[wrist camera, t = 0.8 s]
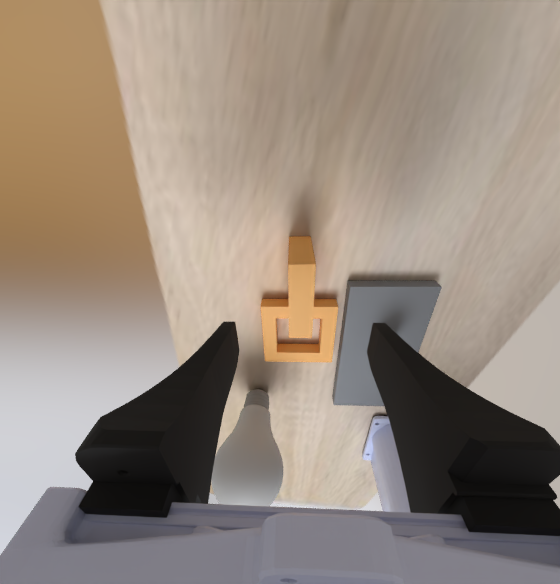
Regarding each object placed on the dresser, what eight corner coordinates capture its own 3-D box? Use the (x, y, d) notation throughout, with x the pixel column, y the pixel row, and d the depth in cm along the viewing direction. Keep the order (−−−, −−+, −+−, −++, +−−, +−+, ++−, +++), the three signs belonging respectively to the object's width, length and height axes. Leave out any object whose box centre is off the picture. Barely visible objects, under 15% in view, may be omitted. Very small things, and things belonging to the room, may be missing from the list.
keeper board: (395, 398, 28) (416, 450, 23) (332, 397, 28) (340, 447, 24) (435, 280, 20) (479, 323, 15) (347, 280, 20) (364, 322, 16)
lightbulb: (227, 372, 27) (192, 497, 18) (283, 372, 26) (279, 499, 17) (236, 407, 30) (210, 528, 21) (286, 407, 30) (284, 531, 20)
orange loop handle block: (330, 353, 25) (337, 397, 20) (266, 352, 25) (260, 395, 21) (342, 235, 19) (357, 264, 14) (257, 236, 19) (247, 264, 15)
